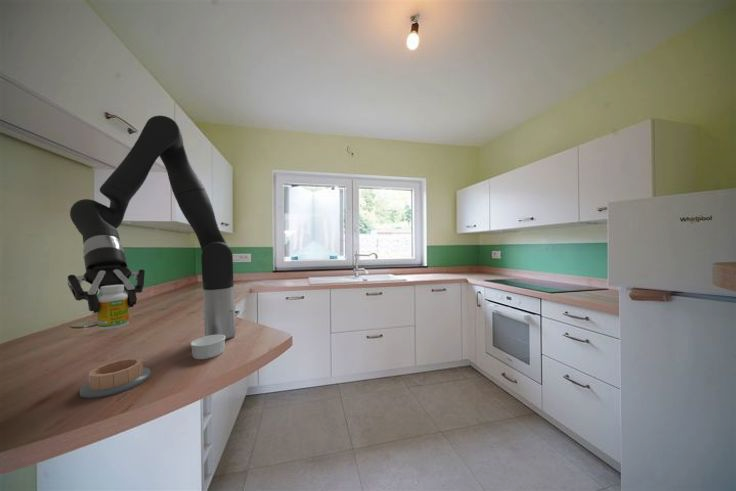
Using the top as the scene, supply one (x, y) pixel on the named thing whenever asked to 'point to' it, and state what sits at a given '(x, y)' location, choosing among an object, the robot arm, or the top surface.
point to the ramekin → (208, 346)
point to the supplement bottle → (113, 307)
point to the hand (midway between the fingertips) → (114, 307)
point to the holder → (115, 378)
